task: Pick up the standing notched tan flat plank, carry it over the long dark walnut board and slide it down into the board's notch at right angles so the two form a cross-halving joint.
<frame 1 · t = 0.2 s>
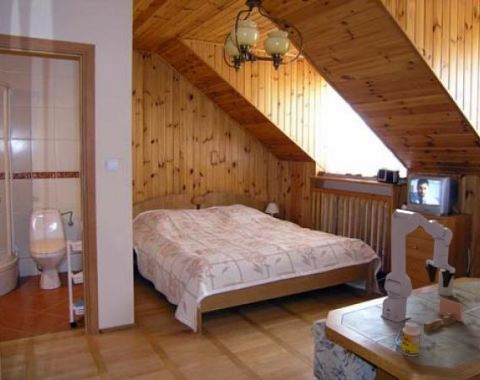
hand: (438, 284, 193), 10 cm above the table, fingers open, 7 cm apart
tan flat plank: (450, 317, 182), on the table
beverage can: (444, 294, 211), on the table
supplement bottle: (409, 353, 149), on the table
walnut board: (440, 326, 173), on the table
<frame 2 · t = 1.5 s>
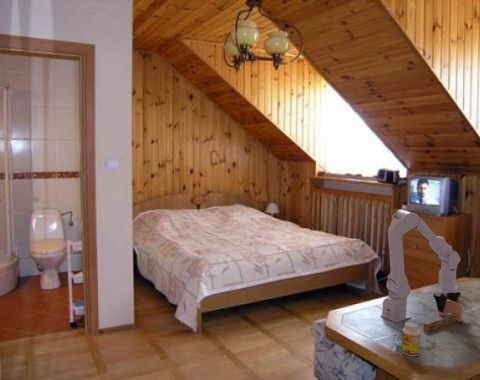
hand: (445, 309, 183), 3 cm above the table, fingers open, 7 cm apart
nothing on the table moved.
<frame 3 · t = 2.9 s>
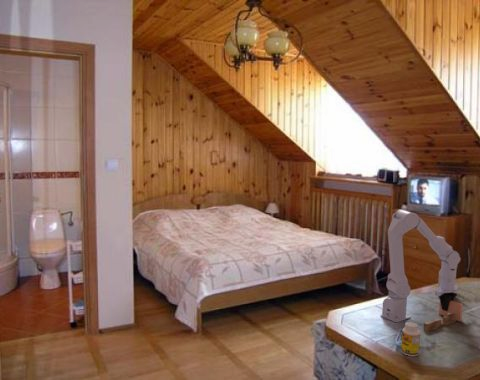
hand: (445, 309, 183), 3 cm above the table, fingers closed on tan flat plank, 1 cm apart
tan flat plank: (450, 317, 182), on the table, touching gripper
everything else where it was.
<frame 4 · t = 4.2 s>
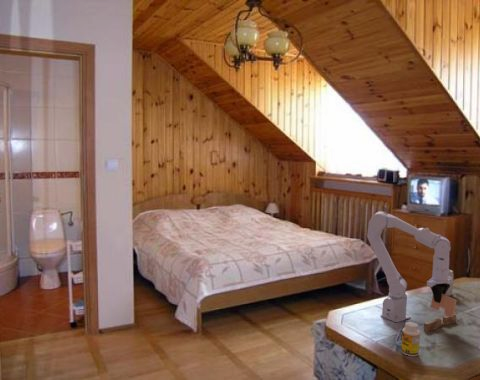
hand: (438, 301, 174), 9 cm above the table, fingers closed on tan flat plank
tan flat plank: (441, 311, 173), point 5 cm above the table, tilted 8°, touching gripper
everything else where it was.
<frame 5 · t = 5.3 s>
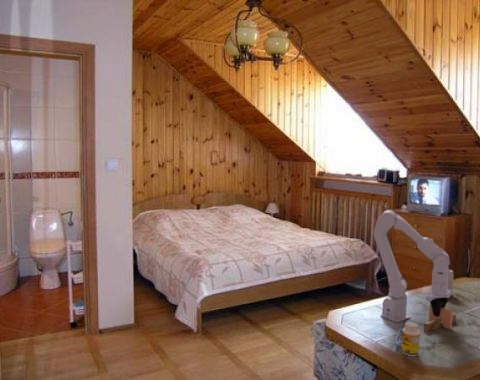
hand: (437, 315, 174), 3 cm above the table, fingers closed on tan flat plank, 1 cm apart
tan flat plank: (440, 324, 174), on the table, touching gripper
everything else where it was.
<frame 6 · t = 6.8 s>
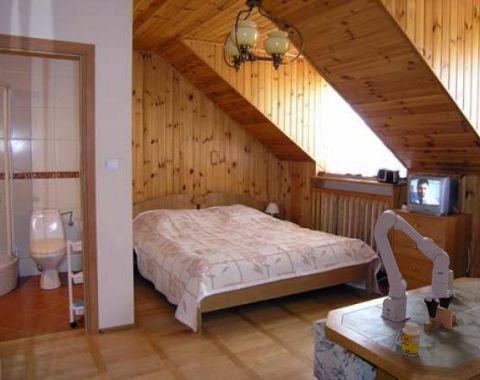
hand: (437, 315, 174), 3 cm above the table, fingers open, 7 cm apart
tan flat plank: (440, 324, 174), on the table
everything else where it was.
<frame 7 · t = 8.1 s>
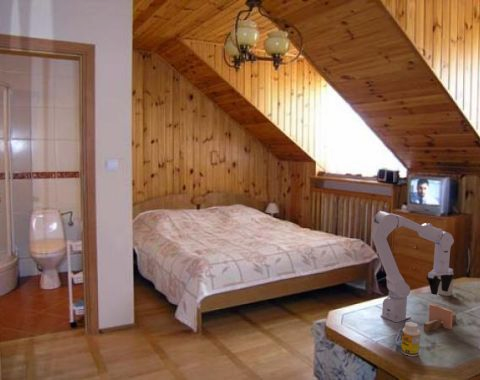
hand: (439, 292, 181), 10 cm above the table, fingers open, 7 cm apart
nothing on the table moved.
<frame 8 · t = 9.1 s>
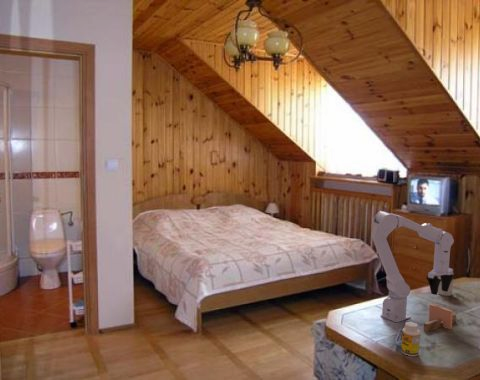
hand: (439, 292, 181), 10 cm above the table, fingers open, 7 cm apart
nothing on the table moved.
at the end: tan flat plank 0.7 cm off-centre on the walnut board, point 0.0 cm above the walnut board's base; tan flat plank tilted 0°; the gripper is holding nothing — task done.
